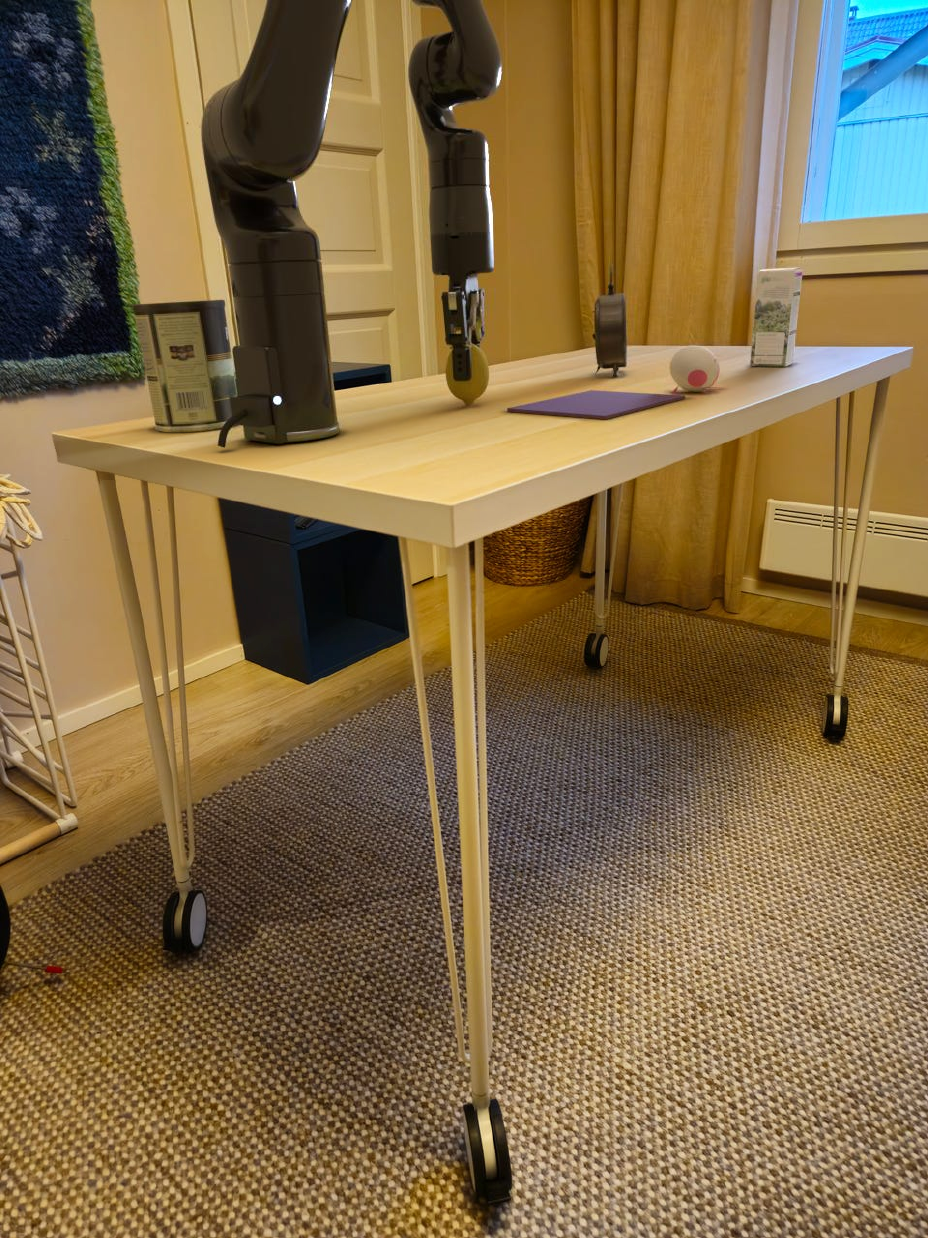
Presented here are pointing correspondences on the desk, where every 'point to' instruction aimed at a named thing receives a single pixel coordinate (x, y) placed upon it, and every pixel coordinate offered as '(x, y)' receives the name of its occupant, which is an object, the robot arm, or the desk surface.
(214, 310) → the coffee can
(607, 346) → the alarm clock
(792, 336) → the syrup box
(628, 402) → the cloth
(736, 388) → the desk surface
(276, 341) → the robot arm
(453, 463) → the desk surface
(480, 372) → the lemon
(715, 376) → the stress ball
